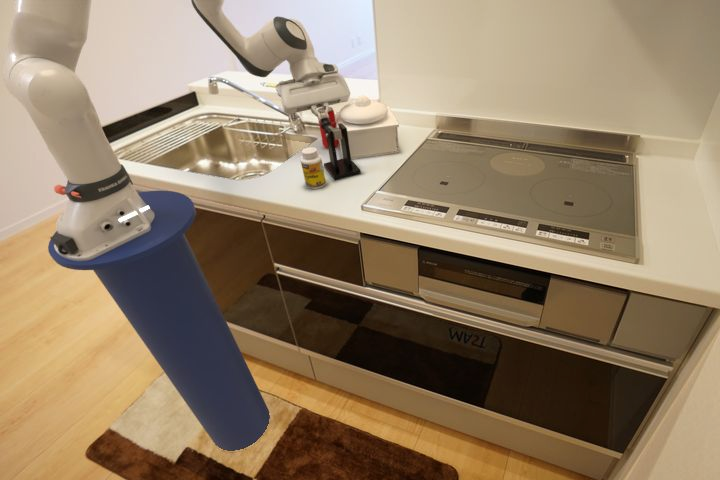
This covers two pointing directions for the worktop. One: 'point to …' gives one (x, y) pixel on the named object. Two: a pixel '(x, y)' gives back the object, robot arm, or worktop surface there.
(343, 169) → the bracket
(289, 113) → the robot arm
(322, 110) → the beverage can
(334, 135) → the tap lever
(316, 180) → the supplement bottle
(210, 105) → the worktop surface
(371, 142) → the white box with dome
